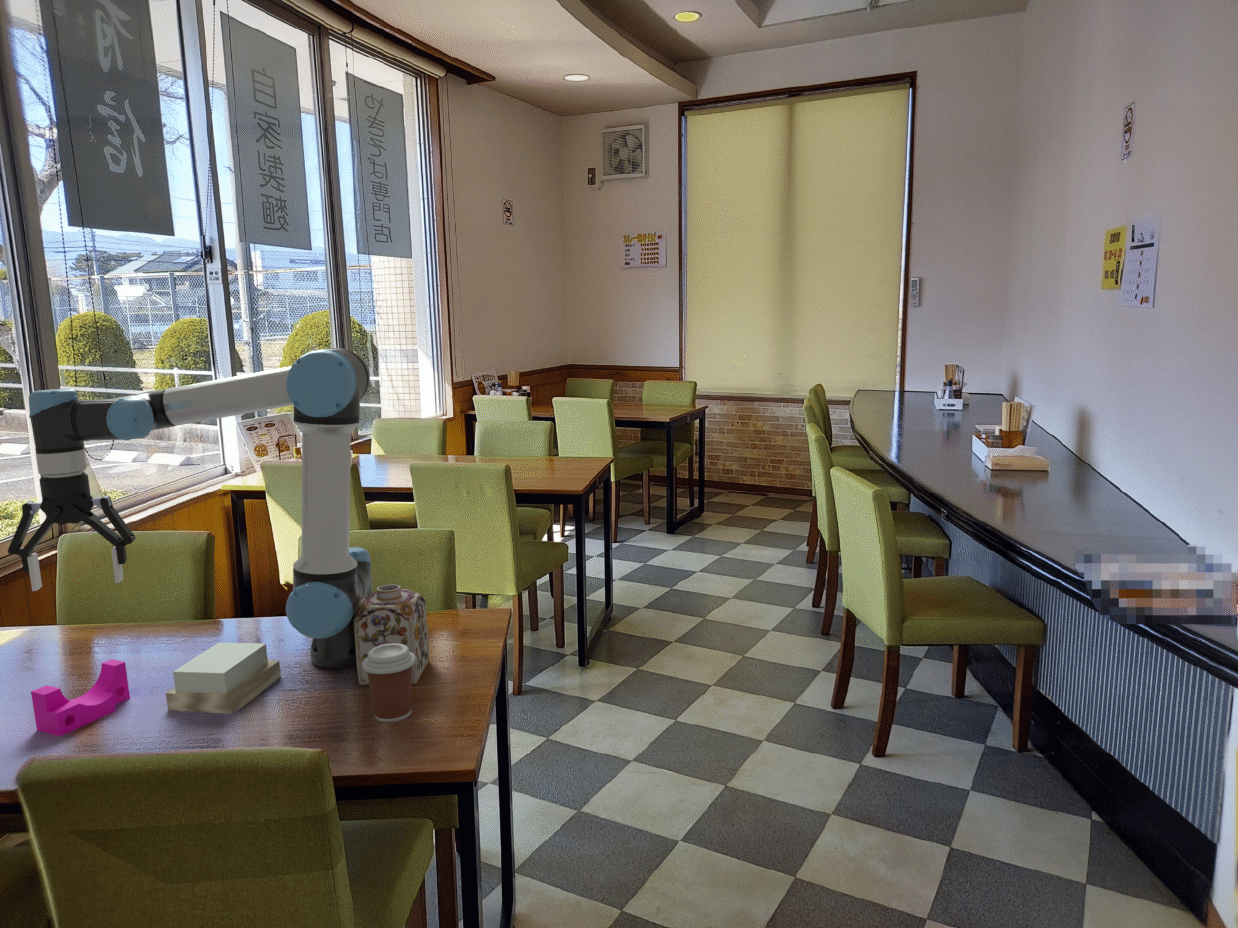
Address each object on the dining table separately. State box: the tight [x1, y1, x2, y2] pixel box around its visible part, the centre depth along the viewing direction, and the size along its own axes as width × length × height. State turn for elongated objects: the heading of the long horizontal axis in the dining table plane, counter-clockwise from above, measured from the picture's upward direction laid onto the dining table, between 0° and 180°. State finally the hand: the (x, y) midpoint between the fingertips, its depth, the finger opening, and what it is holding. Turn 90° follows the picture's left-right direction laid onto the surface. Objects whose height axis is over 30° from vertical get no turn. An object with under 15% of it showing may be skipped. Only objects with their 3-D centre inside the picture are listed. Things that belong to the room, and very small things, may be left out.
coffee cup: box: [362, 643, 416, 723], centre depth 150 cm, size 9×9×12 cm
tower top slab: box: [172, 642, 269, 694], centre depth 160 cm, size 10×14×4 cm
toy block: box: [30, 658, 131, 737], centre depth 153 cm, size 15×6×8 cm, turn 157°
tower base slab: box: [165, 659, 282, 715], centre depth 161 cm, size 13×16×4 cm
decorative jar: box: [353, 583, 430, 686], centre depth 167 cm, size 12×12×18 cm
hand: (78, 584), depth 158 cm, fingers open, 13 cm apart
